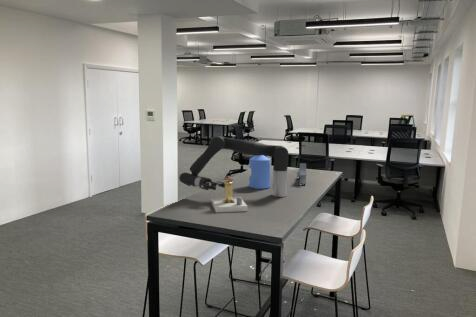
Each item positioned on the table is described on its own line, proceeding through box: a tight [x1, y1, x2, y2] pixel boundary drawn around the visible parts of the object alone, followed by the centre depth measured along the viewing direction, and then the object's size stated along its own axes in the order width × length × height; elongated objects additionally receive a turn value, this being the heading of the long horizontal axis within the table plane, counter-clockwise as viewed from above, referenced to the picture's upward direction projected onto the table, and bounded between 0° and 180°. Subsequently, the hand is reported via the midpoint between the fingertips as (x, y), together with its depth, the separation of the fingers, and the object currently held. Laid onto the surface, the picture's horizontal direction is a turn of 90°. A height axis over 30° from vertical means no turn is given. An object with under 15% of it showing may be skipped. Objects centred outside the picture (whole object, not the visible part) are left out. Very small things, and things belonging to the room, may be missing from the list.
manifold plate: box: [211, 196, 248, 213], centre depth 228 cm, size 22×18×7 cm
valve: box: [223, 177, 234, 203], centre depth 227 cm, size 6×5×17 cm
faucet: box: [296, 162, 307, 185], centre depth 302 cm, size 6×17×30 cm
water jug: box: [248, 155, 272, 190], centre depth 281 cm, size 16×16×28 cm
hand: (220, 187), depth 231 cm, fingers open, 8 cm apart
